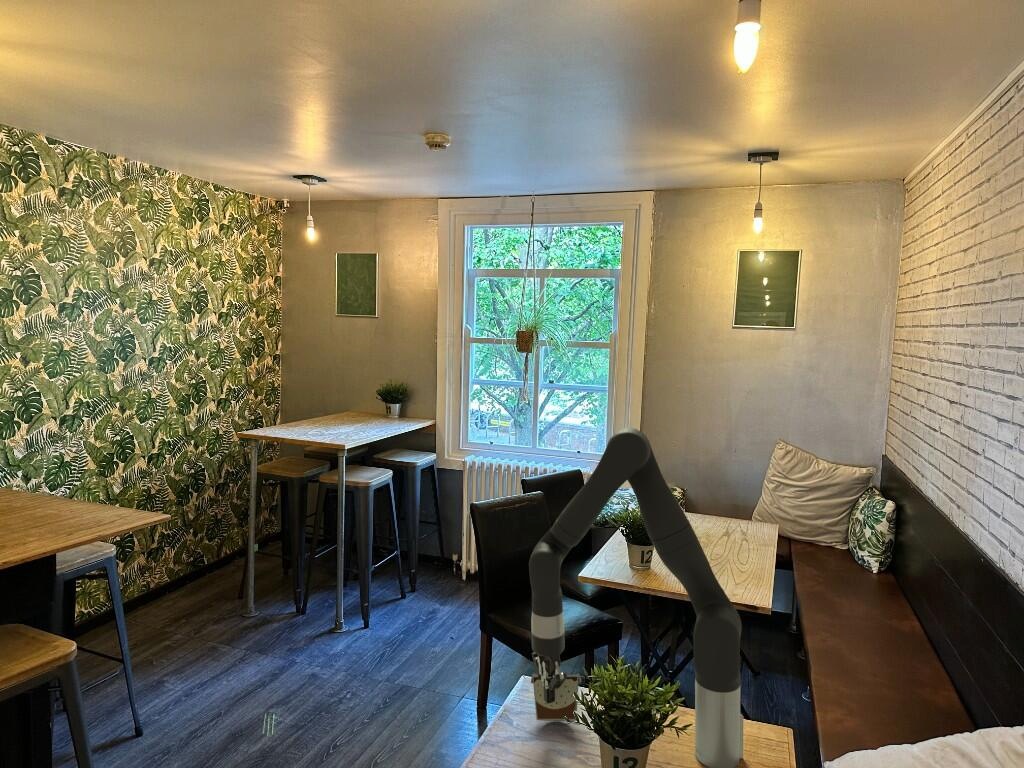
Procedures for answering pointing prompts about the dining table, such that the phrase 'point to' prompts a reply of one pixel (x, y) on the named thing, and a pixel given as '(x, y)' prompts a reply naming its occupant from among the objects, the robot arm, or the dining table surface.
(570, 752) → the dining table surface
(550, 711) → the food container
